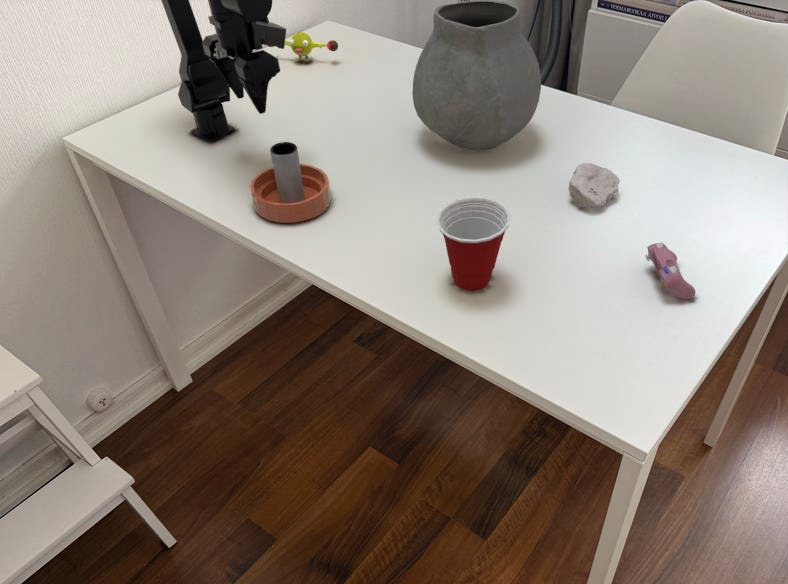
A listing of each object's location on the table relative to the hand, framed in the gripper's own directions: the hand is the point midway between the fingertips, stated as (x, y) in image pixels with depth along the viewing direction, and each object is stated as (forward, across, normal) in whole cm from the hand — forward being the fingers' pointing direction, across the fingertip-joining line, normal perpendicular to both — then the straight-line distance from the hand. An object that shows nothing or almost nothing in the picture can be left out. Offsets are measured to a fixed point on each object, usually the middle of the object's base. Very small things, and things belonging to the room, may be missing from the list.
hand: (251, 105), depth 118 cm
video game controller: (+19, -65, -37) cm, 77 cm away
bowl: (+14, -11, 0) cm, 18 cm away
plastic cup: (+18, -47, -12) cm, 52 cm away
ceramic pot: (+15, -12, -41) cm, 45 cm away
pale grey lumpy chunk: (+17, -41, -45) cm, 63 cm away
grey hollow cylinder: (+14, -11, 0) cm, 18 cm away
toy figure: (+10, +43, -30) cm, 53 cm away
